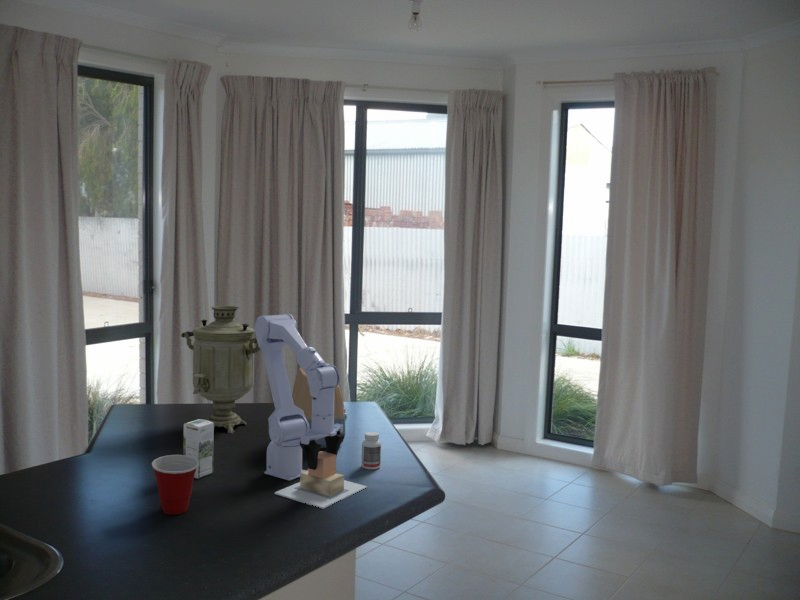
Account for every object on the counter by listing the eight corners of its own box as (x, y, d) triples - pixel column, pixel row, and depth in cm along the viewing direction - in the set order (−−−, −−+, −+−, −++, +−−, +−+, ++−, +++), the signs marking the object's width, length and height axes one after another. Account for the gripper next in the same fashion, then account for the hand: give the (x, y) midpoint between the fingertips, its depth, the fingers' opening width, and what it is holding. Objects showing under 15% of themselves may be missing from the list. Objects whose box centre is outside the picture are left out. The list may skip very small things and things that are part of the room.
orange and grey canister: (347, 449, 229) (348, 374, 226) (292, 452, 225) (293, 376, 222) (338, 433, 245) (339, 363, 242) (286, 436, 241) (287, 364, 238)
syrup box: (198, 469, 207) (198, 418, 206) (214, 473, 204) (214, 421, 203) (182, 475, 202) (182, 422, 201) (198, 479, 199) (198, 426, 198)
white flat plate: (274, 493, 191) (274, 492, 191) (320, 474, 206) (320, 473, 205) (323, 508, 182) (323, 507, 182) (367, 487, 197) (367, 486, 197)
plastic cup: (173, 523, 171) (173, 472, 170) (142, 512, 177) (141, 463, 175) (209, 508, 180) (209, 459, 179) (178, 498, 186) (177, 451, 185)
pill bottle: (384, 468, 212) (384, 434, 211) (367, 471, 209) (368, 437, 208) (374, 462, 217) (374, 429, 216) (358, 465, 214) (358, 432, 213)
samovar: (154, 428, 244) (153, 307, 240) (216, 413, 266) (216, 300, 261) (216, 446, 227) (217, 316, 223) (277, 428, 249) (279, 308, 244)
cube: (308, 474, 192) (308, 455, 192) (320, 469, 197) (321, 450, 196) (323, 478, 190) (323, 459, 189) (335, 473, 194) (336, 454, 193)
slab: (300, 487, 194) (300, 472, 194) (314, 481, 199) (314, 467, 198) (330, 496, 189) (330, 481, 188) (343, 490, 193) (344, 475, 193)
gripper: (316, 421, 183) (315, 475, 185) (352, 410, 195) (351, 460, 197) (294, 417, 187) (294, 469, 189) (331, 405, 199) (330, 455, 201)
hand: (322, 464), depth 193 cm, fingers open, 7 cm apart
